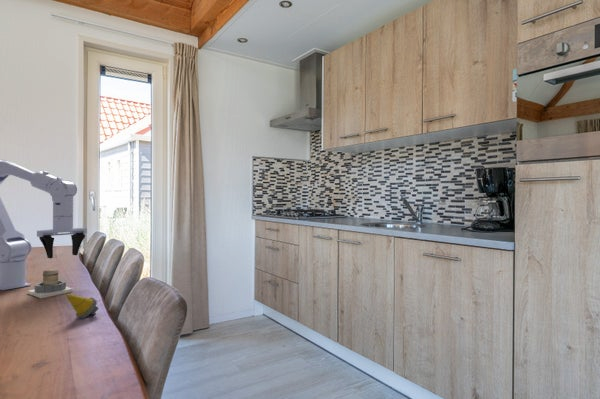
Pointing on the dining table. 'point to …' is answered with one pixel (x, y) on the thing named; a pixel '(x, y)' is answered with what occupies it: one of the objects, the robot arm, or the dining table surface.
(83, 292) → the dining table surface
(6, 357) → the dining table surface
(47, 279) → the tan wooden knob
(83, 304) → the cone
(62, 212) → the robot arm
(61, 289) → the collar stand
